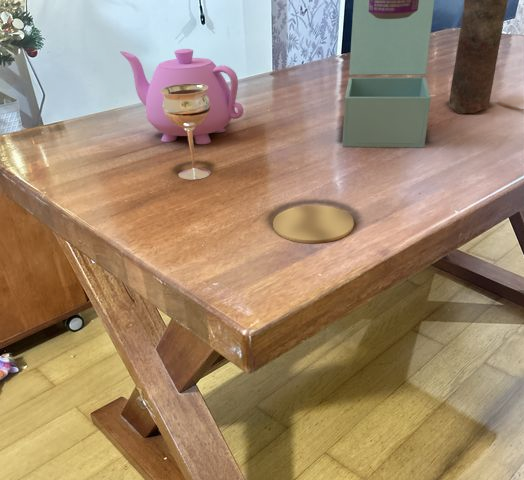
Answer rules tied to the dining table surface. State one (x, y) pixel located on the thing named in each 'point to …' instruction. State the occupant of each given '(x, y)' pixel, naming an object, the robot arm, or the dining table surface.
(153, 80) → the teapot
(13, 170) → the dining table surface
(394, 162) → the dining table surface
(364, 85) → the chest
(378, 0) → the beverage can
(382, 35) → the chest lid
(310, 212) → the coaster
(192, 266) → the dining table surface
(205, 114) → the wineglass
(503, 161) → the dining table surface
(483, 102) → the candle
